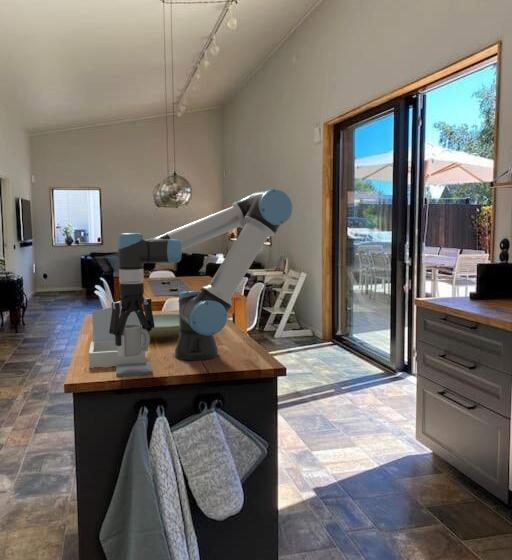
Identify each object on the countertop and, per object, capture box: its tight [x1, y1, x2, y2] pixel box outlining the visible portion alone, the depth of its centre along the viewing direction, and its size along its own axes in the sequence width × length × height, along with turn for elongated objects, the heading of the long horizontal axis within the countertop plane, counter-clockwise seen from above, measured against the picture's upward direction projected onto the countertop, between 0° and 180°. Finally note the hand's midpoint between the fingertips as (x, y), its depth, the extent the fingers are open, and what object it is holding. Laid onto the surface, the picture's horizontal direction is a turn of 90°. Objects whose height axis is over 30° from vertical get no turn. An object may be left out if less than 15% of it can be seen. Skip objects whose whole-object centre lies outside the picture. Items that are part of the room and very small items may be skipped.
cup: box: [122, 324, 151, 356], centre depth 179 cm, size 7×10×9 cm
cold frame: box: [88, 308, 147, 369], centre depth 196 cm, size 23×18×16 cm
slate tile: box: [115, 362, 154, 378], centre depth 180 cm, size 11×11×1 cm
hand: (133, 353), depth 179 cm, fingers closed on cup, 8 cm apart
